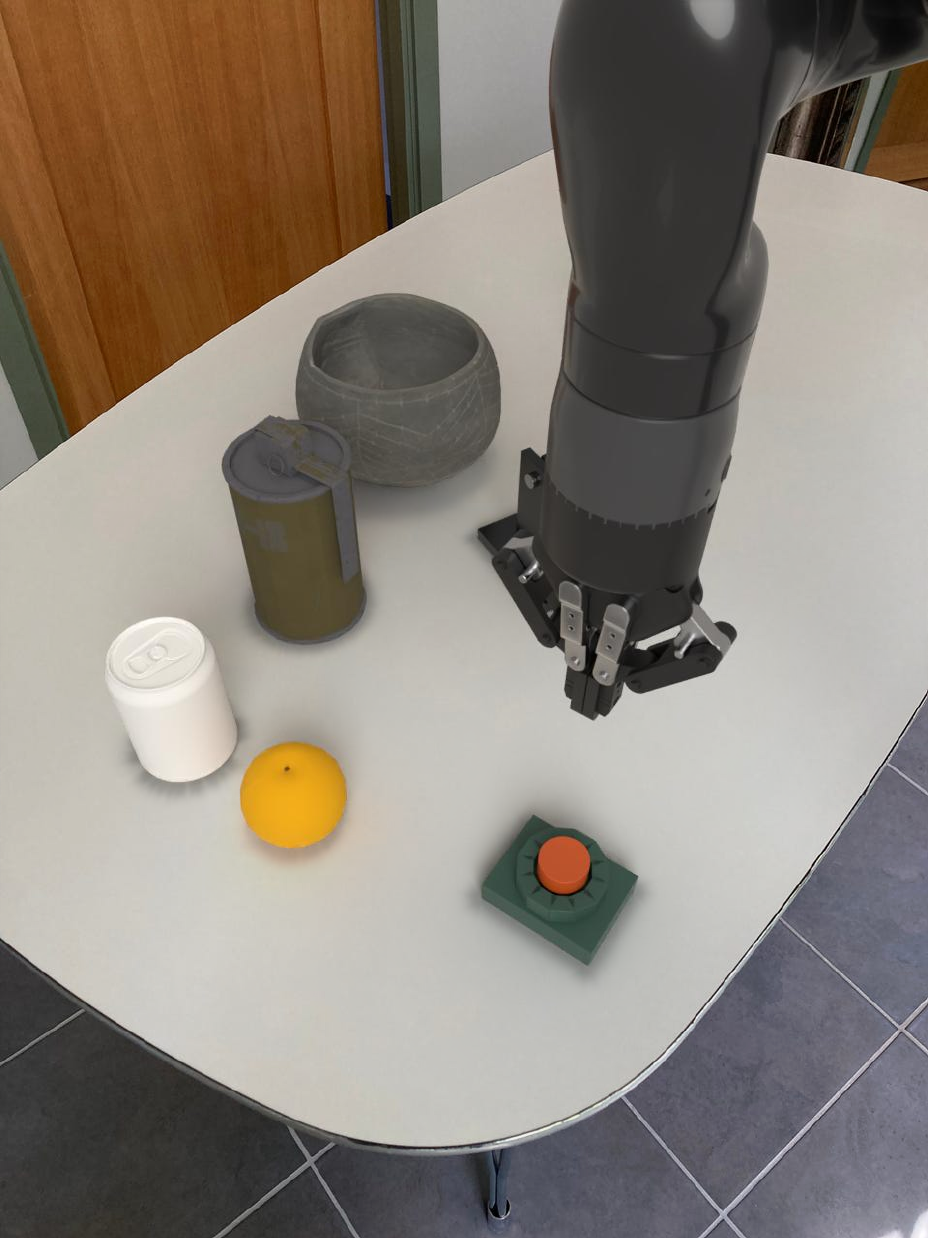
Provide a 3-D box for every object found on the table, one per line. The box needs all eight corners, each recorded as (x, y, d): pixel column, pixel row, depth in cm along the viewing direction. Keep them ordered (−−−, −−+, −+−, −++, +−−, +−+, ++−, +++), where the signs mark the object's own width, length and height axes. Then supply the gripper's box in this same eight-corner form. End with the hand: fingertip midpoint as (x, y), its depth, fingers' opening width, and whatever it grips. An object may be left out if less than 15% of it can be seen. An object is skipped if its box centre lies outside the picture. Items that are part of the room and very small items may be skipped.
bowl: (535, 482, 102) (544, 360, 91) (359, 551, 95) (346, 428, 84) (437, 384, 114) (436, 265, 103) (275, 438, 107) (253, 317, 96)
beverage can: (258, 744, 79) (233, 652, 70) (176, 805, 75) (138, 715, 67) (201, 690, 83) (171, 595, 74) (120, 745, 79) (77, 652, 70)
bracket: (621, 578, 93) (640, 475, 83) (544, 613, 89) (554, 510, 80) (550, 507, 99) (560, 404, 90) (477, 538, 96) (479, 434, 87)
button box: (634, 890, 71) (642, 864, 68) (588, 966, 67) (594, 942, 64) (531, 828, 74) (534, 801, 71) (481, 898, 70) (482, 872, 67)
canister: (231, 613, 89) (186, 440, 74) (305, 549, 95) (277, 377, 80) (320, 665, 85) (291, 493, 70) (392, 595, 91) (379, 422, 76)
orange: (353, 773, 78) (345, 719, 72) (347, 862, 72) (338, 811, 67) (254, 775, 77) (238, 720, 72) (241, 864, 72) (223, 812, 67)
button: (596, 865, 68) (599, 853, 67) (571, 904, 66) (573, 892, 65) (553, 839, 70) (555, 827, 68) (527, 877, 68) (528, 865, 66)
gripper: (455, 448, 41) (455, 695, 54) (745, 574, 36) (667, 813, 49) (546, 366, 45) (525, 614, 58) (817, 469, 40) (728, 715, 53)
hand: (590, 705), depth 53 cm, fingers closed
